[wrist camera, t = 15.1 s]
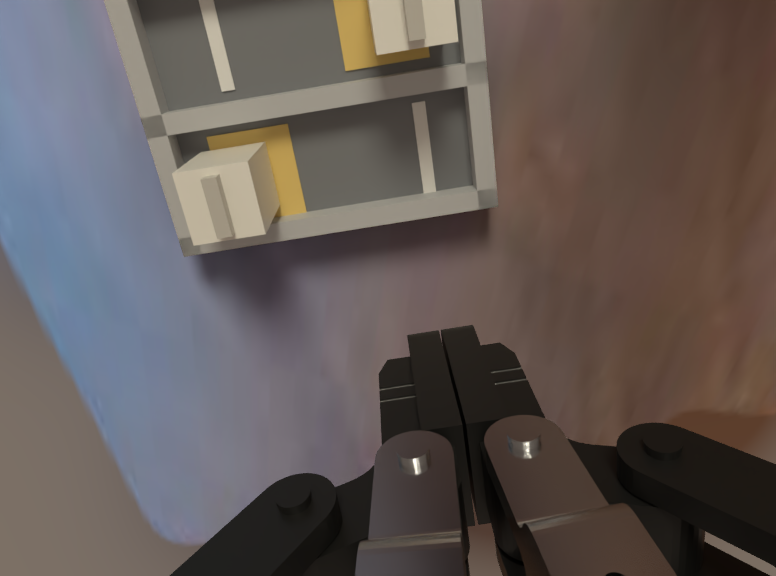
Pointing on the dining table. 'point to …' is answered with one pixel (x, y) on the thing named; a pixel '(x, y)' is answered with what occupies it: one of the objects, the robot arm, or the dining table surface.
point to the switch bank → (313, 109)
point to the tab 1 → (227, 193)
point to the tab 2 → (411, 24)
